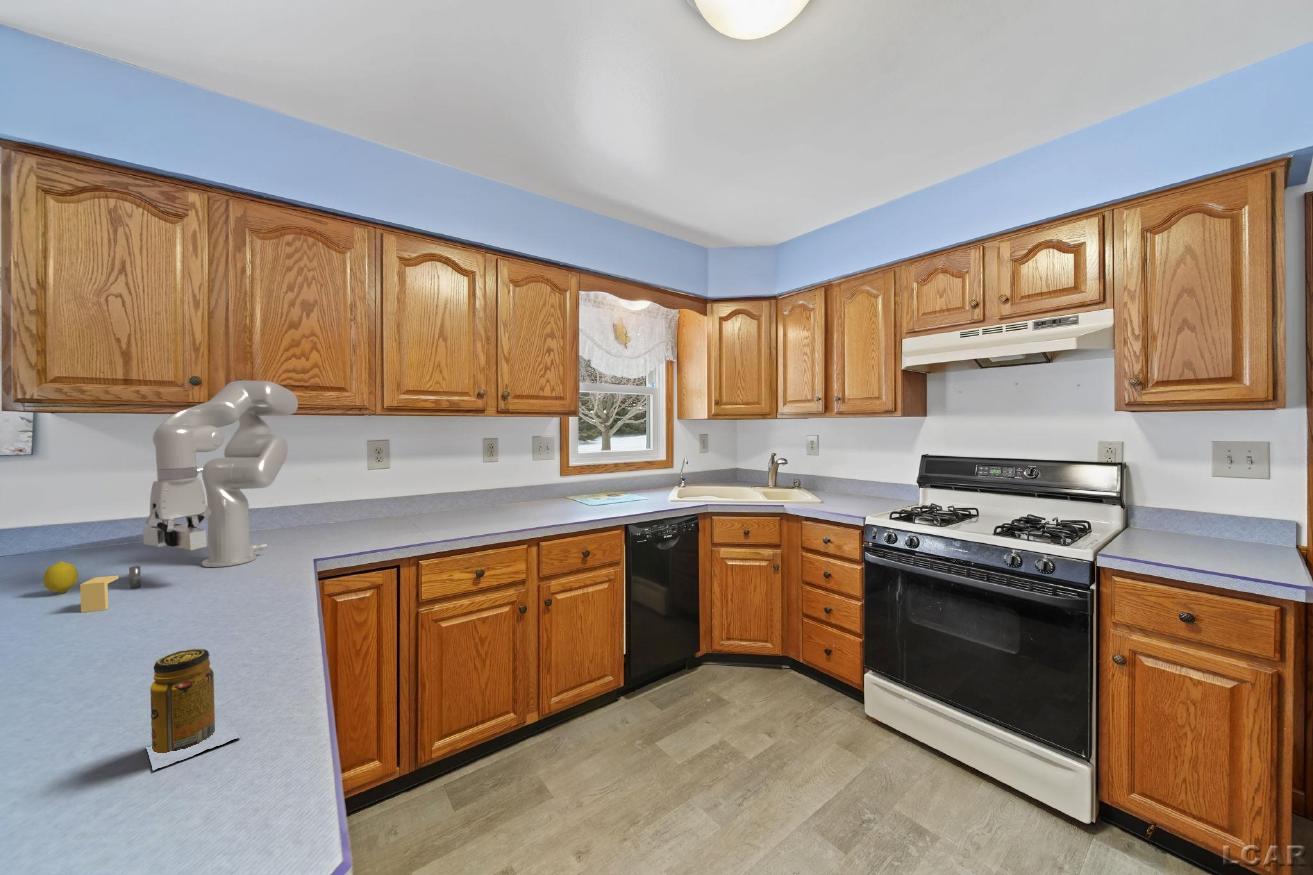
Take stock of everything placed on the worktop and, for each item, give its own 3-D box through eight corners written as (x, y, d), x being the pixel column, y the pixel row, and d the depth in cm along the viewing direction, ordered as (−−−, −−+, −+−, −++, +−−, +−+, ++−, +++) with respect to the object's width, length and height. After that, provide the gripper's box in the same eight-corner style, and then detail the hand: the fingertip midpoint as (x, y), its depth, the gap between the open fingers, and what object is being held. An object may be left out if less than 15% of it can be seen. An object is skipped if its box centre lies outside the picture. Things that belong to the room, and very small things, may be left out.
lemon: (54, 598, 123) (53, 565, 123) (37, 596, 124) (36, 563, 124) (84, 590, 128) (83, 559, 128) (68, 589, 129) (67, 557, 129)
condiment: (145, 748, 66) (142, 657, 66) (229, 719, 73) (227, 636, 72) (152, 773, 61) (149, 675, 61) (241, 740, 68) (239, 651, 68)
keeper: (96, 604, 119) (95, 577, 118) (119, 601, 120) (118, 575, 120) (81, 612, 113) (80, 584, 113) (105, 609, 115) (104, 582, 115)
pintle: (138, 586, 132) (137, 565, 131) (142, 587, 131) (142, 566, 131) (128, 588, 130) (127, 567, 129) (132, 589, 129) (131, 568, 129)
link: (214, 544, 134) (213, 528, 134) (183, 551, 128) (182, 534, 128) (175, 537, 141) (174, 521, 140) (143, 543, 135) (142, 527, 134)
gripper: (206, 469, 142) (210, 534, 143) (127, 477, 126) (132, 550, 128) (223, 471, 139) (226, 537, 140) (144, 480, 124) (148, 554, 125)
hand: (181, 543), depth 134 cm, fingers closed on link, 3 cm apart
